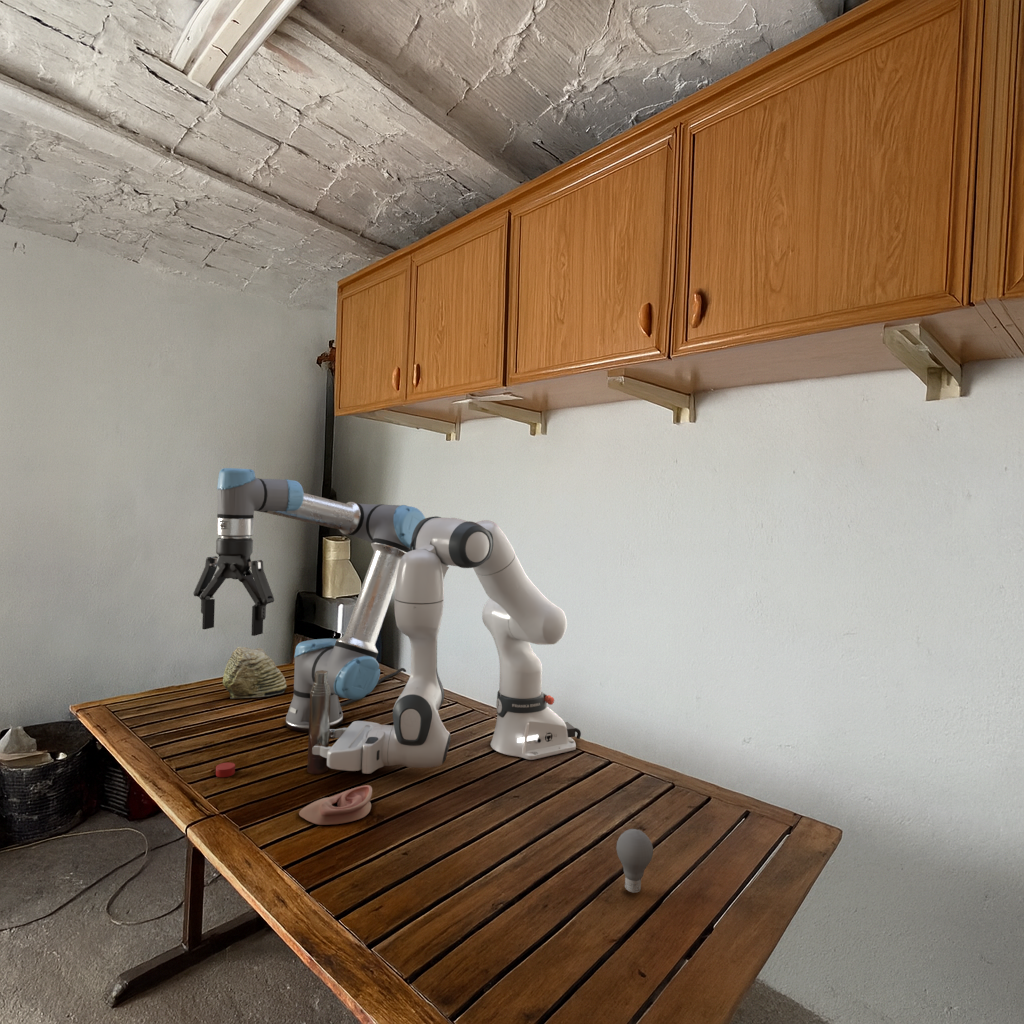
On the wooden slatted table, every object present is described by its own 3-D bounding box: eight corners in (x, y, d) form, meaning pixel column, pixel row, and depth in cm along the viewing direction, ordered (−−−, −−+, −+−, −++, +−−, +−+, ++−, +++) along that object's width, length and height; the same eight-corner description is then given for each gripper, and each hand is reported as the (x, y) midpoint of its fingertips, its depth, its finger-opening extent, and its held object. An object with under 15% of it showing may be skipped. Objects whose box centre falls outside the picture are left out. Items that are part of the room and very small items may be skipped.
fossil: (218, 695, 195) (220, 647, 195) (278, 685, 208) (279, 640, 207) (228, 703, 189) (230, 653, 188) (289, 692, 201) (290, 645, 201)
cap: (236, 769, 145) (236, 761, 145) (233, 776, 141) (233, 769, 141) (217, 770, 144) (217, 763, 144) (214, 778, 140) (214, 770, 140)
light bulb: (610, 879, 108) (613, 822, 108) (644, 879, 109) (647, 822, 109) (619, 902, 102) (622, 840, 102) (655, 901, 103) (658, 840, 103)
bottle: (332, 768, 148) (335, 671, 147) (317, 775, 144) (321, 675, 143) (317, 764, 150) (320, 668, 149) (303, 771, 146) (306, 672, 145)
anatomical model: (291, 800, 123) (320, 775, 134) (290, 820, 123) (320, 794, 134) (354, 810, 120) (379, 784, 132) (353, 830, 121) (378, 803, 132)
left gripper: (177, 534, 142) (175, 628, 143) (269, 541, 134) (266, 640, 135) (203, 533, 149) (201, 622, 150) (292, 539, 142) (289, 633, 142)
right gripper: (390, 715, 156) (335, 712, 157) (368, 748, 136) (305, 744, 137) (389, 741, 157) (334, 737, 157) (367, 777, 136) (303, 773, 137)
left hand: (232, 631), depth 142 cm, fingers open, 13 cm apart
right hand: (320, 741), depth 147 cm, fingers open, 8 cm apart
